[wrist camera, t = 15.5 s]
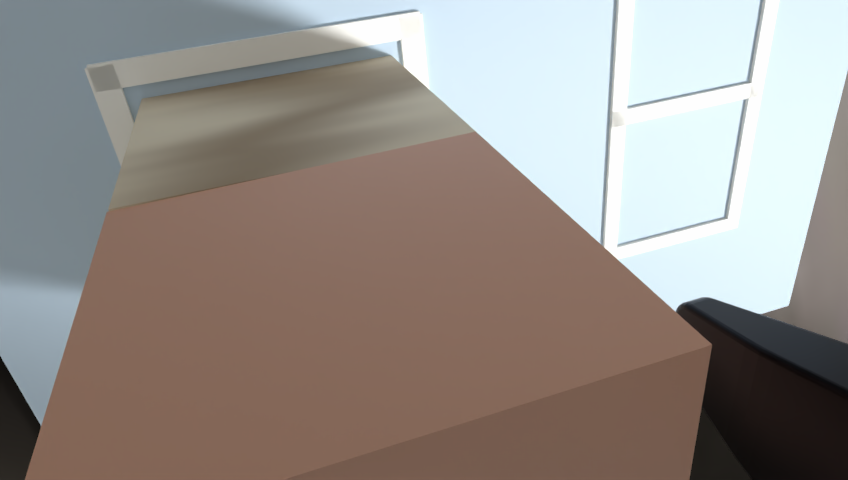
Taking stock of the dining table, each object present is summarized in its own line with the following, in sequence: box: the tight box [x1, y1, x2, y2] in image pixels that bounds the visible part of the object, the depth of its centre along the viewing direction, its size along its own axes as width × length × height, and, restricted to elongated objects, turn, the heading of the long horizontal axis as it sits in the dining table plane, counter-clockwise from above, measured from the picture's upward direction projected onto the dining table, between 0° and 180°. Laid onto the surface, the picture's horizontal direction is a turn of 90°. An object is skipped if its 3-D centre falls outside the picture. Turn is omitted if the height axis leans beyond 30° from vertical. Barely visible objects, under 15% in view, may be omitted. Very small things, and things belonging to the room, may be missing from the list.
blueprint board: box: [0, 0, 848, 425], centre depth 15 cm, size 22×16×1 cm
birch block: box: [108, 55, 476, 211], centre depth 12 cm, size 5×5×5 cm
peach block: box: [25, 132, 712, 480], centre depth 8 cm, size 5×5×5 cm
